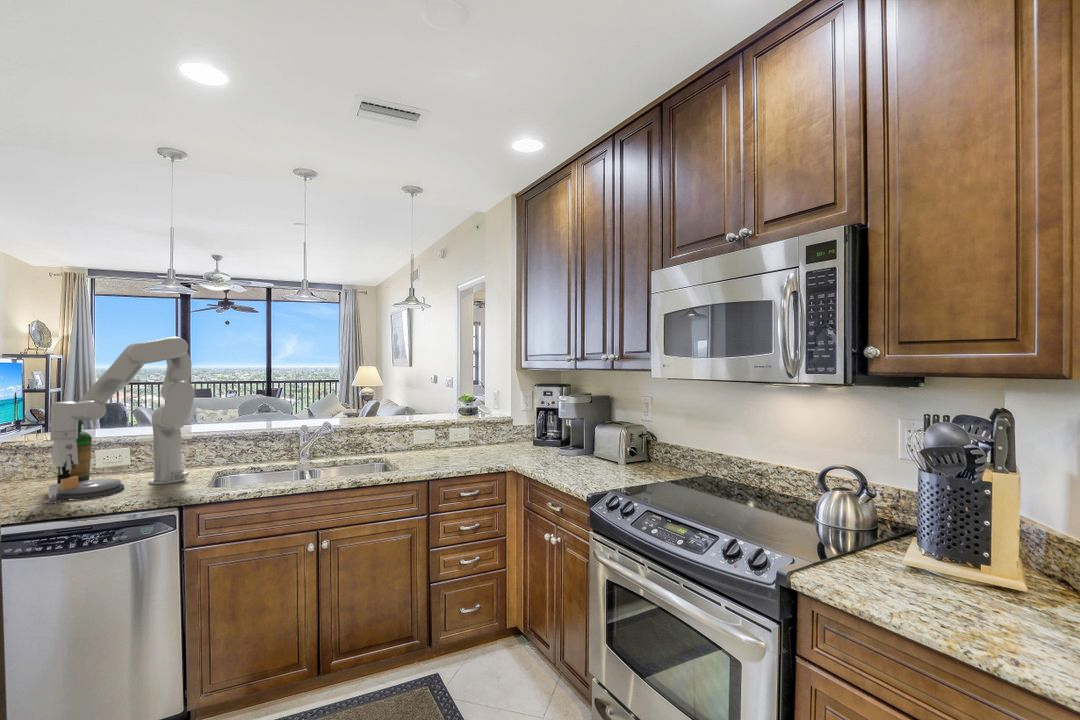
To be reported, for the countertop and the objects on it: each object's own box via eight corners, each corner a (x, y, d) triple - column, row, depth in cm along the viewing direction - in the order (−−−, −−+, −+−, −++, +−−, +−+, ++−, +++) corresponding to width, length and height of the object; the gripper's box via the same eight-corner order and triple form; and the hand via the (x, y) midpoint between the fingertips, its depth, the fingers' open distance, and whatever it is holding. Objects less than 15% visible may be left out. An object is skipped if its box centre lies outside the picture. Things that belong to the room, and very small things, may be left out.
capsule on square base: (52, 504, 183) (52, 486, 183) (42, 504, 184) (42, 486, 184) (66, 500, 188) (66, 483, 188) (56, 500, 188) (56, 482, 188)
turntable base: (138, 487, 208) (138, 483, 208) (86, 501, 187) (86, 497, 187) (90, 485, 210) (90, 482, 210) (34, 499, 189) (34, 495, 189)
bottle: (71, 489, 205) (71, 417, 205) (49, 487, 207) (49, 417, 207) (99, 482, 215) (98, 414, 215) (78, 481, 218) (78, 414, 218)
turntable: (96, 481, 210) (96, 467, 210) (133, 484, 205) (133, 470, 205) (41, 493, 191) (41, 478, 191) (80, 496, 187) (80, 481, 187)
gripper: (84, 435, 192) (84, 485, 192) (70, 432, 200) (69, 480, 200) (58, 438, 186) (57, 489, 186) (43, 434, 194) (43, 484, 194)
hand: (63, 484), depth 193 cm, fingers closed
